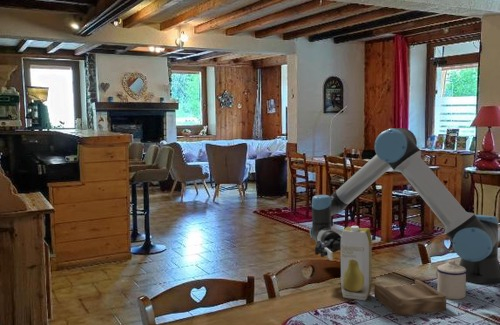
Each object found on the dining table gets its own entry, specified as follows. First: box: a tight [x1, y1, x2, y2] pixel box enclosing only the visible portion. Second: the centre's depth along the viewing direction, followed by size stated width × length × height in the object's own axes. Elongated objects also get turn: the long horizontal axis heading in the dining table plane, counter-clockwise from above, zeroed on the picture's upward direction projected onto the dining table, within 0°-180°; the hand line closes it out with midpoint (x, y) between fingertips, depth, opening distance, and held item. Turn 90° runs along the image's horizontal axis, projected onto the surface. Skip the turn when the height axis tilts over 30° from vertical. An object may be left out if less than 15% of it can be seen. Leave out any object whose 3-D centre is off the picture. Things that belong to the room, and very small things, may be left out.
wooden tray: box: [373, 279, 447, 317], centre depth 157 cm, size 16×16×4 cm
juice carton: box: [340, 225, 373, 301], centre depth 163 cm, size 9×8×24 cm
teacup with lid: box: [435, 259, 467, 300], centre depth 164 cm, size 12×9×12 cm
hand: (350, 254), depth 168 cm, fingers open, 13 cm apart
